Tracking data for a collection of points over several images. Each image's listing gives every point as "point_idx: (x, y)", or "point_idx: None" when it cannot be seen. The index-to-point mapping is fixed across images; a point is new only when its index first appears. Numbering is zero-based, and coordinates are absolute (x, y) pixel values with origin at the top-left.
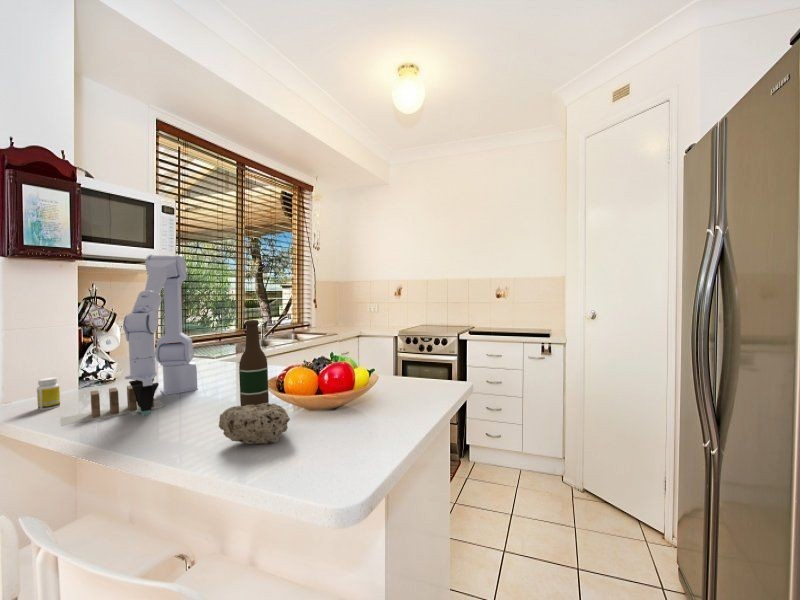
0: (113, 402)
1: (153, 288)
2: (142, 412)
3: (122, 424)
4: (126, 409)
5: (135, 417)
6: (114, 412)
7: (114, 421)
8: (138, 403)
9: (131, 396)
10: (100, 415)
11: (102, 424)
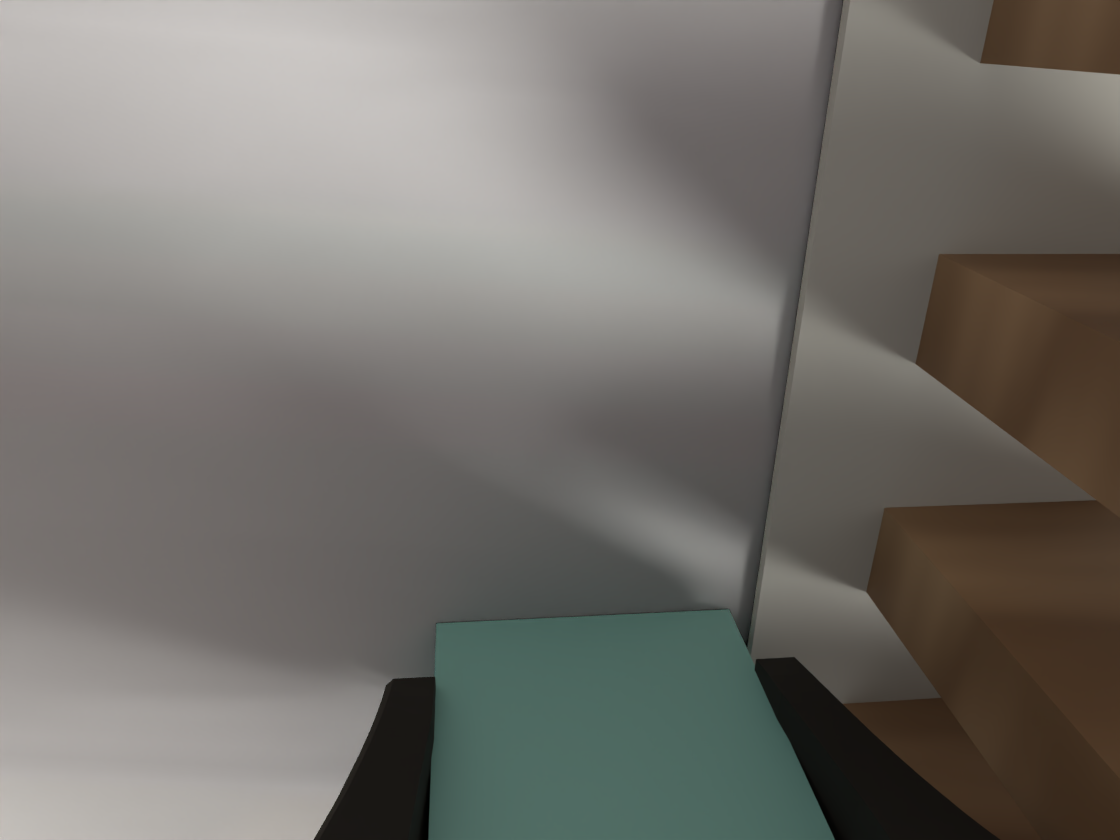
0: (1077, 371)
1: None
2: (462, 660)
3: (127, 344)
4: (1039, 472)
5: (450, 537)
6: (946, 304)
7: (449, 250)
8: (780, 701)
9: (1027, 713)
10: (1060, 71)
11: (392, 43)
